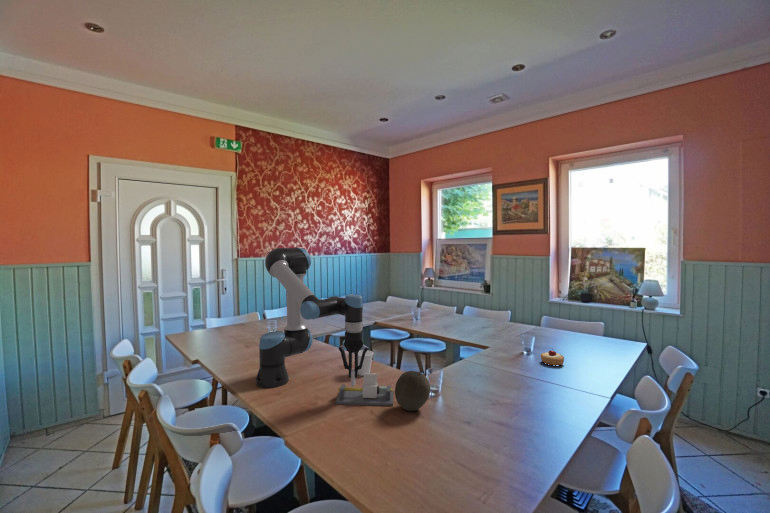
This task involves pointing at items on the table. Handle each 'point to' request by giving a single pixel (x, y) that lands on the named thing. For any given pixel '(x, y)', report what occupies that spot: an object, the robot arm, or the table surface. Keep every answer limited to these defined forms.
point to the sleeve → (370, 385)
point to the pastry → (552, 358)
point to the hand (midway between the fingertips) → (353, 384)
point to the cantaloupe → (412, 390)
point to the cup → (365, 362)
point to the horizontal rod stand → (356, 398)
